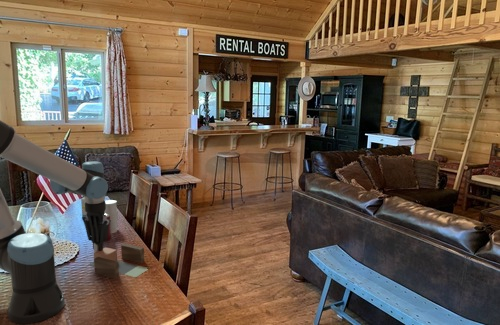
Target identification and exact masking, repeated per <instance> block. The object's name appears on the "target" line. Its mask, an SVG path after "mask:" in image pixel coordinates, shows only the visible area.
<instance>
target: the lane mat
mask: <svg viewBox="0 0 500 325" xmlns="http://www.w3.org/2000/svg"><path fill="white" fill-rule="evenodd" d="M117 262H118V265H119V275H120V274H122V275H125V276H129V277H133V278H138V277H139V276H141V275H143V274H144V273H146V272H147V271H148V269H147V268H148V267H145V266H141V265H137V264H134V263H130V262H126V261H121V260H118V259H117ZM87 266H90V267H94V261H93V262H90V263H89V264H88V265H87ZM145 271H146V272H145ZM142 273H143V274H142Z"/></svg>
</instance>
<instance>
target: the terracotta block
mask: <svg viewBox="0 0 500 325" xmlns="http://www.w3.org/2000/svg"><path fill="white" fill-rule="evenodd" d="M96 257H101V258H105V259H109V260H113V261H117V260H118V251H117V249H115V248H110V247H103V250H102V251H97V252H95V253H94V252H93V259H94V258H96Z"/></svg>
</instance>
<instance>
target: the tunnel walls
mask: <svg viewBox="0 0 500 325" xmlns="http://www.w3.org/2000/svg"><path fill="white" fill-rule="evenodd" d="M120 249H121V251H120V252H121V253H120V254H121V259H122V260H126V261H130V262H134V263H136V264H137V263H139V264H142V263H144V262H145V248H144V247H142V246H138V245H137V246H136V245H133V244H128V243H123V244H121V246H120ZM93 262H94V266H93V267H94V274H96V275H99V276H103V277H106V278H110V279H114V280H116V279H118V278H119V277H120V273H119V265H118V262H117V261H113V260H109V259H105V258H101V257H96V258H94V257H93Z"/></svg>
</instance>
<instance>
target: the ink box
mask: <svg viewBox="0 0 500 325" xmlns="http://www.w3.org/2000/svg"><path fill="white" fill-rule="evenodd" d="M80 201H81V216H82V217H84V216H86V215H87V212H86V211H85V201H84V197H82V198H80ZM82 217H81V218H82Z"/></svg>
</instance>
